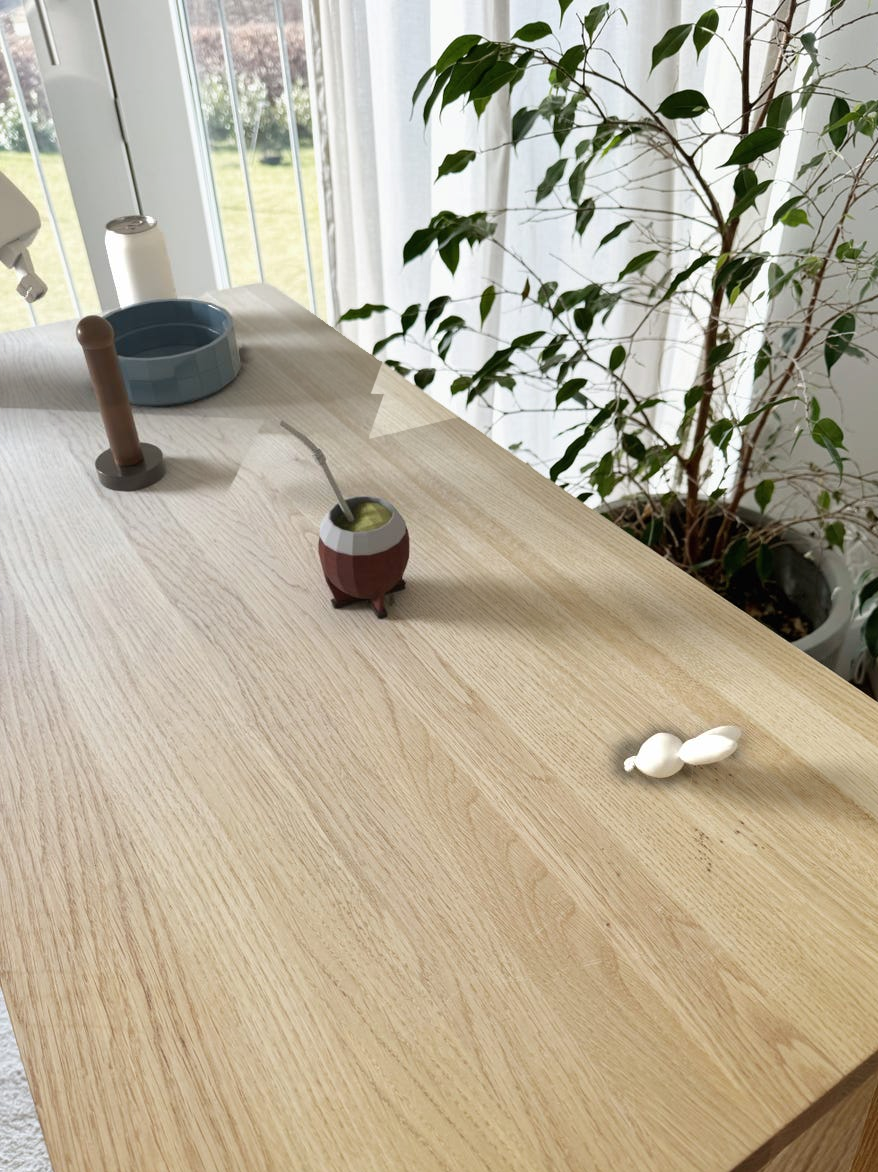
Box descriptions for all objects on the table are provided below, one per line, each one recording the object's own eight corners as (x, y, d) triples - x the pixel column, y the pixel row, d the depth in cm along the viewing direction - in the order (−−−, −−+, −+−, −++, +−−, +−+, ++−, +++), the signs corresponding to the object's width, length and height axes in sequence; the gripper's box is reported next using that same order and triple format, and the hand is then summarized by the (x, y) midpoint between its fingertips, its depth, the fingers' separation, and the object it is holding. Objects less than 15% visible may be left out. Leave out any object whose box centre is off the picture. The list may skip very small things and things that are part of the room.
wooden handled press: (93, 503, 92) (40, 331, 81) (116, 468, 96) (70, 300, 85) (157, 506, 91) (112, 333, 80) (178, 471, 96) (138, 303, 85)
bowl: (77, 406, 105) (62, 357, 102) (128, 342, 117) (117, 296, 113) (218, 412, 104) (209, 363, 100) (256, 347, 115) (249, 301, 112)
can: (116, 335, 118) (89, 231, 110) (142, 313, 123) (119, 211, 115) (166, 341, 117) (143, 236, 109) (191, 318, 121) (171, 216, 114)
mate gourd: (425, 608, 80) (417, 444, 70) (332, 636, 78) (310, 470, 68) (391, 558, 85) (379, 397, 75) (302, 583, 83) (277, 420, 73)
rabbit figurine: (626, 735, 70) (739, 705, 67) (644, 788, 70) (757, 761, 67) (608, 754, 64) (729, 723, 62) (626, 812, 64) (749, 783, 62)
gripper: (-240, 196, 72) (-87, 348, 76) (-27, 122, 86) (94, 253, 90) (-253, 249, 76) (-107, 391, 80) (-48, 171, 90) (68, 294, 94)
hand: (1, 317), depth 85 cm, fingers open, 8 cm apart
